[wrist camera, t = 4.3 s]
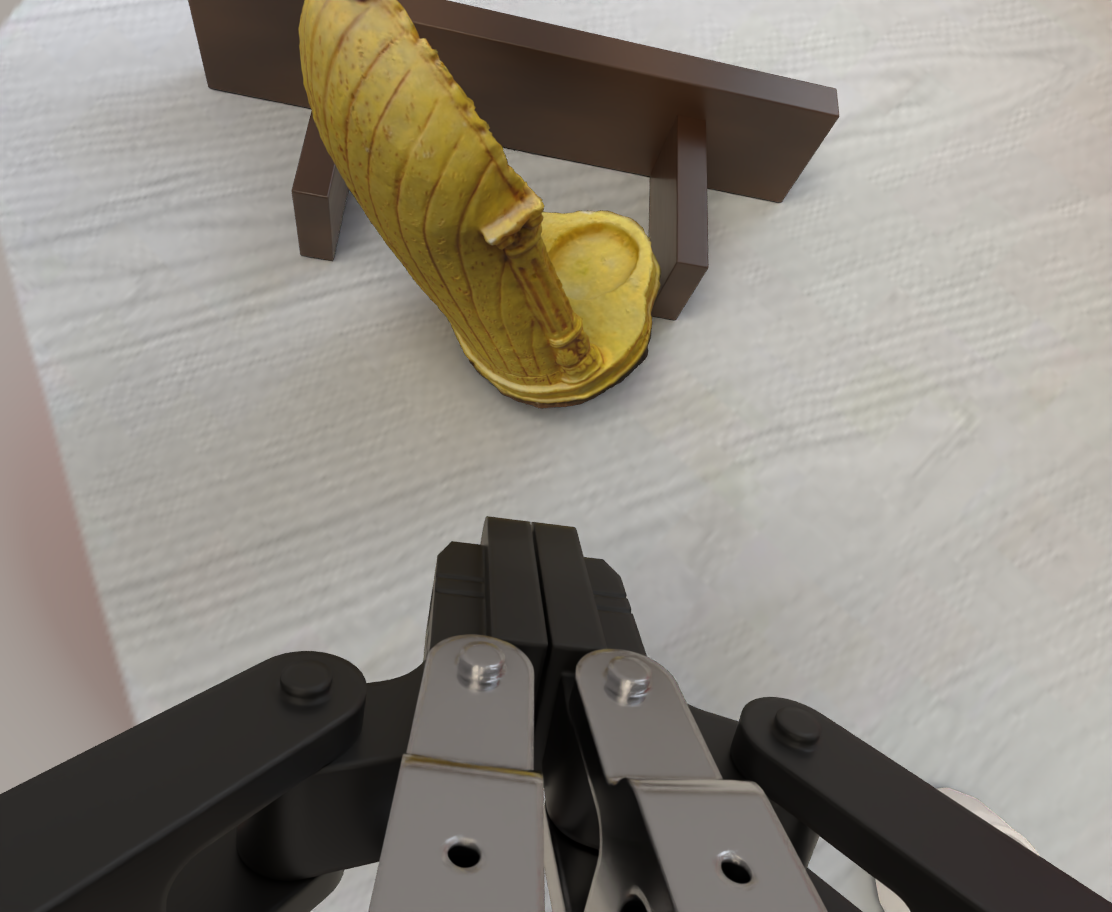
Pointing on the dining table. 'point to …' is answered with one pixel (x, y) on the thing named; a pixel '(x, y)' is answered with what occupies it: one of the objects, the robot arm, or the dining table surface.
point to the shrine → (474, 214)
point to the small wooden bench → (556, 114)
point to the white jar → (893, 903)
